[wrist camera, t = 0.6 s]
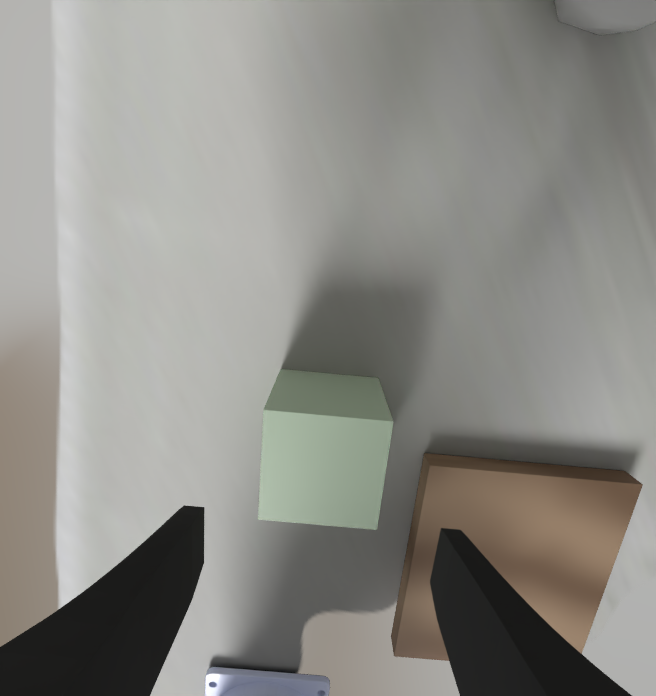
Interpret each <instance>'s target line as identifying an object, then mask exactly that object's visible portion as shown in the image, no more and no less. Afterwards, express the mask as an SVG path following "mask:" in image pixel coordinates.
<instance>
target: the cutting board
mask: <svg viewBox="0 0 656 696" xmlns="http://www.w3.org/2000/svg"><path fill="white" fill-rule="evenodd" d="M642 485H643V484H641V483H640V482H639V481H637V480H636V479H635V478H633V477H632V476H631V475H629V474H628V473H627V472H626V471H619V470H607V469H596V468H585V467H574V466H563V465H552V464H541V463H529V462H518V461H507V460H496V459H485V458H474V457H462V456H451V455H440V454H429V453H424V457H423V463H422V468H421V474H420V479H419V485H418V490H417V496H416V501H415V507H414V512H413V518H412V523H411V529H410V534H409V540H408V545H407V551H406V557H405V562H404V568H403V573H402V579H401V584H400V590H399V595H398V601H397V606H396V612H395V617H394V623H393V629H392V634H391V639H392V645H393V652H394V656H399V657H409V658H422V659H434V660H447V661H449V658H448V655H447V651H446V648H445V645H444V641H443V638H442V635H441V631H440V628H439V625H438V621H437V617H436V612H435V607H434V602H433V597H432V591H431V586H430V578H431V574H432V569H433V564H434V559H435V554H436V549H437V545H438V540H439V535H440V530H441V528H447V529H459V530H462V531H463V533H464V534H465V535H466V536H467V537H468V538H469V539H470V540H471V542H472V543H473V544H474V545H475V546H476V547H477V548H478V550H479V551H480V552H481V553H482V554H483V555H484V556H485V558H486V559H487V560H488V561H489V562H490V563H491V564H492V565H493V567H494V568H495V569H496V570H497V571H498V572H499V573H500V574H501V575H502V577H503V578H504V579H505V580H506V581H507V582H508V583H509V584H510V585H511V586H512V587H513V588H514V589H515V591H516V592H517V593H518V594H519V595H520V596H521V597H522V598H523V599H524V600H525V601H526V602H527V603H528V604H529V605H530V606H531V607H532V608H533V609H534V610H535V611H536V612H537V613H538V614H539V615H540V616H541V617H542V618H543V619H544V620H545V621H546V622H547V623H548V624H549V625H550V626H551V627H552V628H553V629H554V630H555V631H556V632H558V633H559V634H560V635H561V636H562V637H563V638H564V639H565V640H566V641H567V642H568V643H570V644H571V645H572V646H573V647H574V648H575V649H576V650H577V651H579V652H580V653H581V654H582V651H583V648H584V646H585V643H586V640H587V637H588V634H589V632H590V629H591V626H592V623H593V621H594V618H595V615H596V612H597V610H598V607H599V604H600V601H601V599H602V596H603V593H604V590H605V588H606V585H607V582H608V579H609V576H610V574H611V571H612V568H613V565H614V563H615V560H616V557H617V554H618V552H619V549H620V546H621V543H622V541H623V538H624V535H625V532H626V530H627V527H628V524H629V521H630V519H631V516H632V513H633V510H634V507H635V505H636V502H637V499H638V496H639V494H640V491H641V488H642Z"/></svg>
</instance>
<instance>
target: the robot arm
mask: <svg viewBox="0 0 656 696" xmlns="http://www.w3.org/2000/svg"><path fill="white" fill-rule="evenodd" d="M203 564H204V507H194V506H183V507H182V508H180V509H179V510H178V511H177V512H176V513H175V514H174V515H173V516H172V517H171V518H170V519H169V520H167V521H166V522H165V523H164V524H163V525H162V526H161V527H160V528H159V529H158V530H157V531H156V532H154V533H153V534H152V535H151V536H150V537H149V538H148V539H147V540H146V541H145V542H143V543H142V544H141V545H140V546H139V547H138V548H137V549H135V550H134V551H133V552H132V553H131V554H130V555H129V556H127V557H126V558H125V559H124V560H123V561H122V562H120V563H119V564H118V565H117V566H115V567H114V568H113V569H112V570H110V571H109V572H108V573H107V574H105V575H104V576H103V577H102V578H100V579H99V580H98V581H97V582H96V583H94V584H93V585H92V586H90V587H89V588H88V589H86V590H85V591H84V592H82V593H81V594H80V595H78V596H77V597H76V598H74V599H73V600H72V601H70V602H69V603H67V604H66V605H65V606H63V607H62V608H60V609H59V610H57V611H56V612H55V613H53V614H52V615H50V616H49V617H47V618H46V619H44V620H43V621H41V622H39V623H38V624H36V625H35V626H33V627H32V628H30V629H28V630H27V631H25V632H24V633H22V634H20V635H19V636H17V637H16V638H14V639H12V640H11V641H9V642H8V643H6V644H4V645H3V646H1V647H0V696H150V694H151V692H152V689H153V687H154V685H155V682H156V680H157V678H158V676H159V673H160V671H161V669H162V666H163V664H164V662H165V660H166V657H167V655H168V653H169V651H170V648H171V646H172V644H173V642H174V639H175V637H176V635H177V633H178V630H179V628H180V626H181V624H182V621H183V619H184V617H185V614H186V612H187V610H188V608H189V605H190V603H191V601H192V598H193V595H194V592H195V589H196V586H197V583H198V580H199V576H200V573H201V570H202V567H203ZM430 586H431V591H432V597H433V602H434V607H435V612H436V617H437V621H438V625H439V628H440V631H441V635H442V638H443V641H444V645H445V648H446V651H447V655H448V658H449V661H450V664H451V668H452V671H453V674H454V677H455V680H456V684H457V687H458V690H459V693H460V696H631V695H630V694H629V693H628V692H627V691H625V690H624V689H623V688H621V687H620V686H619V685H618V684H616V683H615V682H614V681H613V680H611V679H610V678H609V677H608V676H607V675H605V674H604V673H603V672H602V671H601V670H599V669H598V668H597V667H596V666H595V665H593V664H592V663H591V662H590V661H589V660H587V659H586V658H585V657H584V656H583V655H582V654H581V653H580V652H579V651H577V650H576V649H575V648H574V647H573V646H572V645H571V644H570V643H568V642H567V641H566V640H565V639H564V638H563V637H562V636H561V635H560V634H559V633H558V632H556V631H555V630H554V629H553V628H552V627H551V626H550V625H549V624H548V623H547V622H546V621H545V620H544V619H543V618H542V617H541V616H540V615H539V614H538V613H537V612H536V611H535V610H534V609H533V608H532V607H531V606H530V605H529V604H528V603H527V602H526V601H525V600H524V599H523V598H522V597H521V596H520V595H519V594H518V593H517V592H516V591H515V589H514V588H513V587H512V586H511V585H510V584H509V583H508V582H507V581H506V580H505V579H504V578H503V577H502V575H501V574H500V573H499V572H498V571H497V570H496V569H495V568H494V567H493V565H492V564H491V563H490V562H489V561H488V560H487V559H486V558H485V556H484V555H483V554H482V553H481V552H480V551H479V550H478V548H477V547H476V546H475V545H474V544H473V543H472V542H471V540H470V539H469V538H468V537H467V536H466V535H465V534H464V533H463V531H462V530H459V529H447V528H441V530H440V535H439V540H438V545H437V549H436V554H435V559H434V564H433V569H432V574H431V578H430ZM329 689H330V680H329V679H328V678H327V677H326V676H320V675H308V674H296V673H283V672H271V671H259V670H246V669H234V668H222V667H211V668H209V669H208V670H207V673H206V677H205V696H329Z"/></svg>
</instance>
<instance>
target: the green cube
mask: <svg viewBox="0 0 656 696" xmlns="http://www.w3.org/2000/svg"><path fill="white" fill-rule="evenodd" d="M392 428H393V419H392V416H391V413H390V410H389V407H388V404H387V402H386V399H385V396H384V393H383V390H382V387H381V384H380V381H379V378H374V377H363V376H352V375H341V374H330V373H319V372H308V371H297V370H286V369H281V370H280V372H279V374H278V377H277V379H276V382H275V384H274V386H273V389H272V391H271V393H270V396H269V398H268V400H267V403H266V405H265V408H264V411H263V430H262V450H261V469H260V489H259V508H258V520H268V521H280V522H291V523H303V524H314V525H326V526H337V527H349V528H360V529H372V530H377V526H378V520H379V513H380V507H381V500H382V493H383V487H384V480H385V474H386V467H387V461H388V454H389V448H390V441H391V434H392Z"/></svg>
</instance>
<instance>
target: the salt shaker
mask: <svg viewBox="0 0 656 696" xmlns="http://www.w3.org/2000/svg"><path fill="white" fill-rule="evenodd" d="M554 2H555V7H556V12H557V16H558V21H560V22H563V23H566V24H569V25H572V26H574V27H577V28H580V29H583V30H586V31H589V32H591V33H594V34H597V35H607V34H614V33H621V32H629V31H636V30H639V29H641V28H643V27H645V26H647V25H650V24H652V23H654V22H656V0H554Z"/></svg>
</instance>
